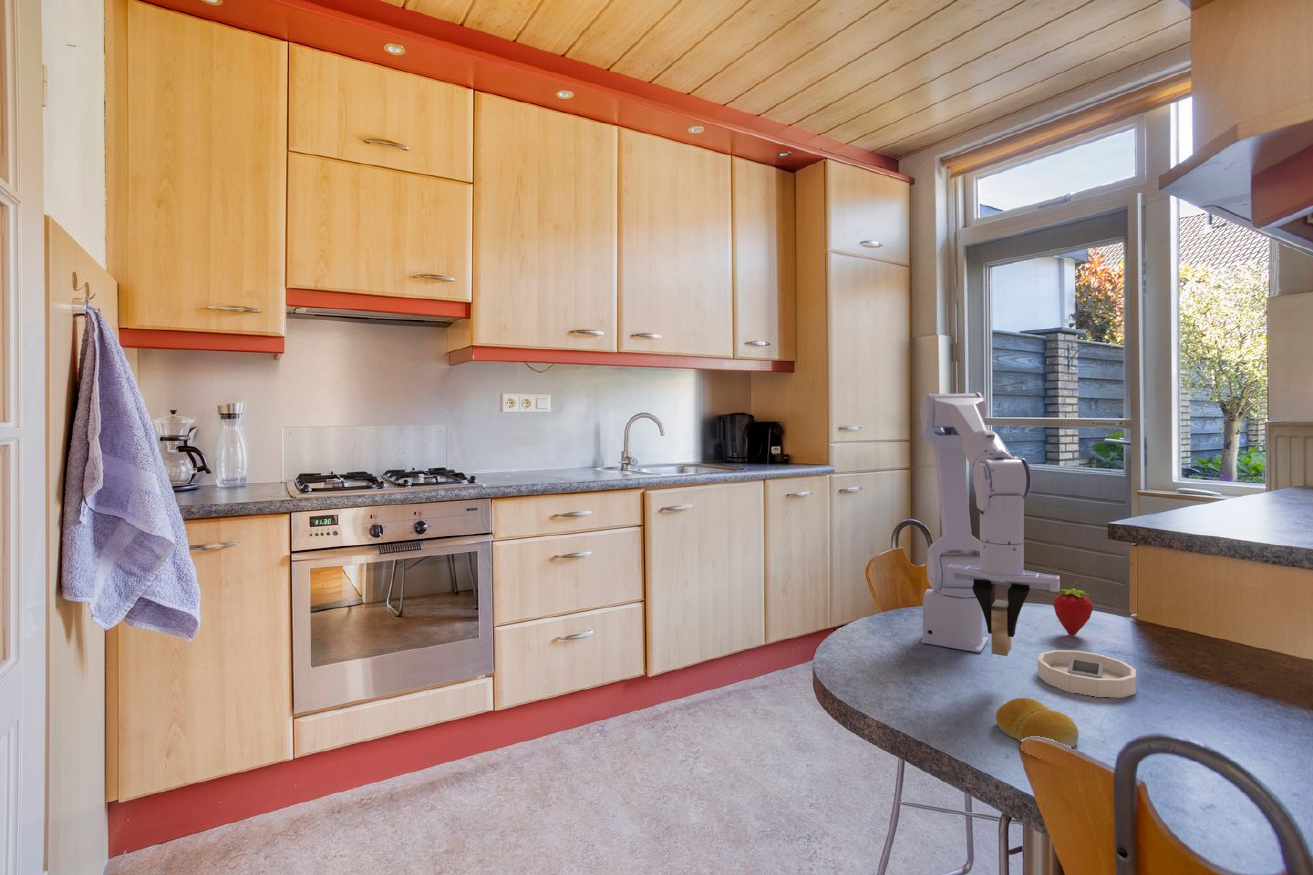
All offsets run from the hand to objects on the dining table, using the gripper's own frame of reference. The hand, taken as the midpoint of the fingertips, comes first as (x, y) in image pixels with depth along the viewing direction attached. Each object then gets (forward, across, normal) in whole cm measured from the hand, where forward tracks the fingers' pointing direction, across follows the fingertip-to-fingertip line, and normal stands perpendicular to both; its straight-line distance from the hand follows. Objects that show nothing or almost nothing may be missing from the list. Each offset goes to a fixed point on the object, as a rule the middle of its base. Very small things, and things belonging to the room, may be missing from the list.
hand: (1001, 633), depth 99 cm
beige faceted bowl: (+8, +10, +9) cm, 16 cm away
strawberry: (+8, +7, +32) cm, 34 cm away
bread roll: (+8, +6, -14) cm, 17 cm away
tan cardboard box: (+3, 0, 0) cm, 3 cm away
